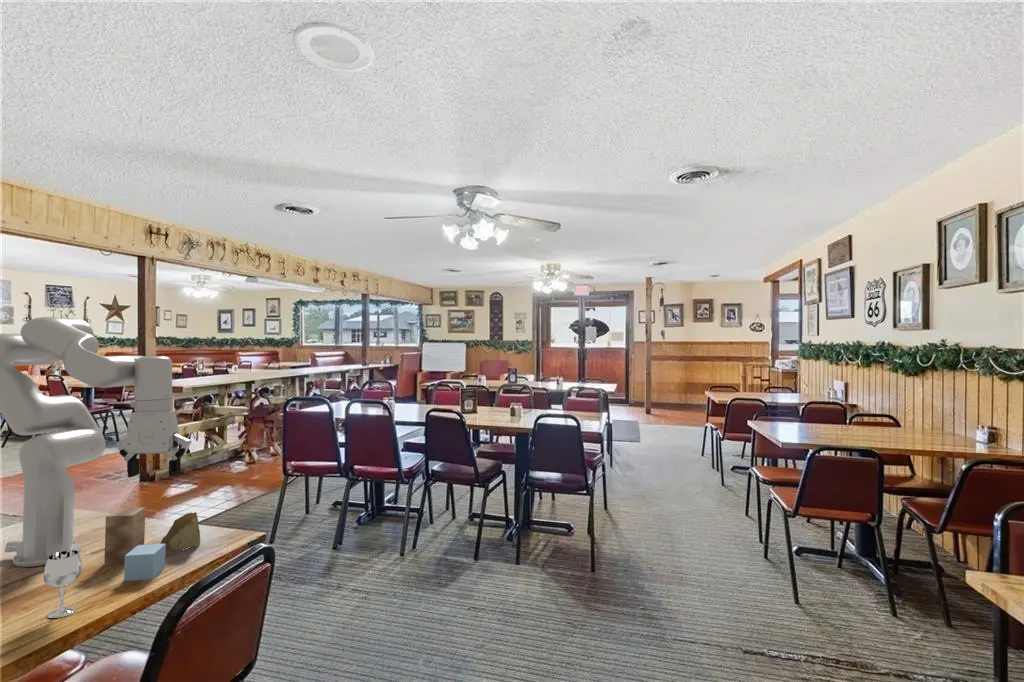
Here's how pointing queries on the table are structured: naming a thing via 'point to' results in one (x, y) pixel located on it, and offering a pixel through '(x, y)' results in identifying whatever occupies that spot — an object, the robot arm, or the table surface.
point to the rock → (182, 534)
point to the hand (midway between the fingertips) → (154, 475)
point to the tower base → (121, 548)
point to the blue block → (144, 562)
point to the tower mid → (125, 523)
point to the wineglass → (62, 576)
